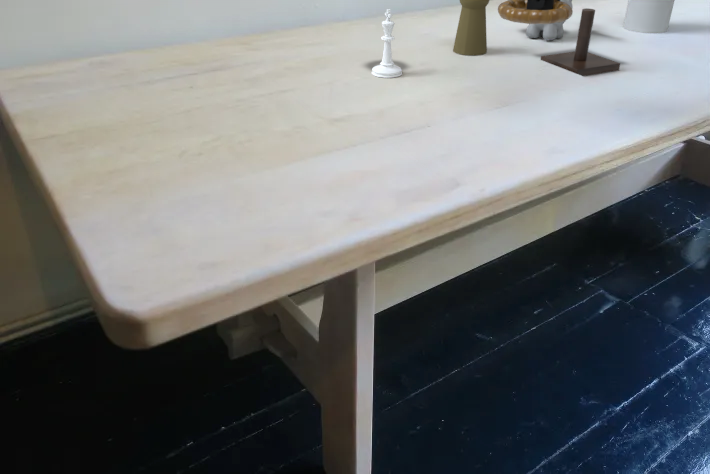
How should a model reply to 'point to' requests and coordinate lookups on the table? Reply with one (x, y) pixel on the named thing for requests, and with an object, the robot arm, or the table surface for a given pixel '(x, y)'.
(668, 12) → the cup
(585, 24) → the wooden peg stand
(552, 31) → the round bodied animal figurine
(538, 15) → the ring
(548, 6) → the robot arm
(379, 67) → the chess piece
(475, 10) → the olive tapered cylinder
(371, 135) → the table surface
